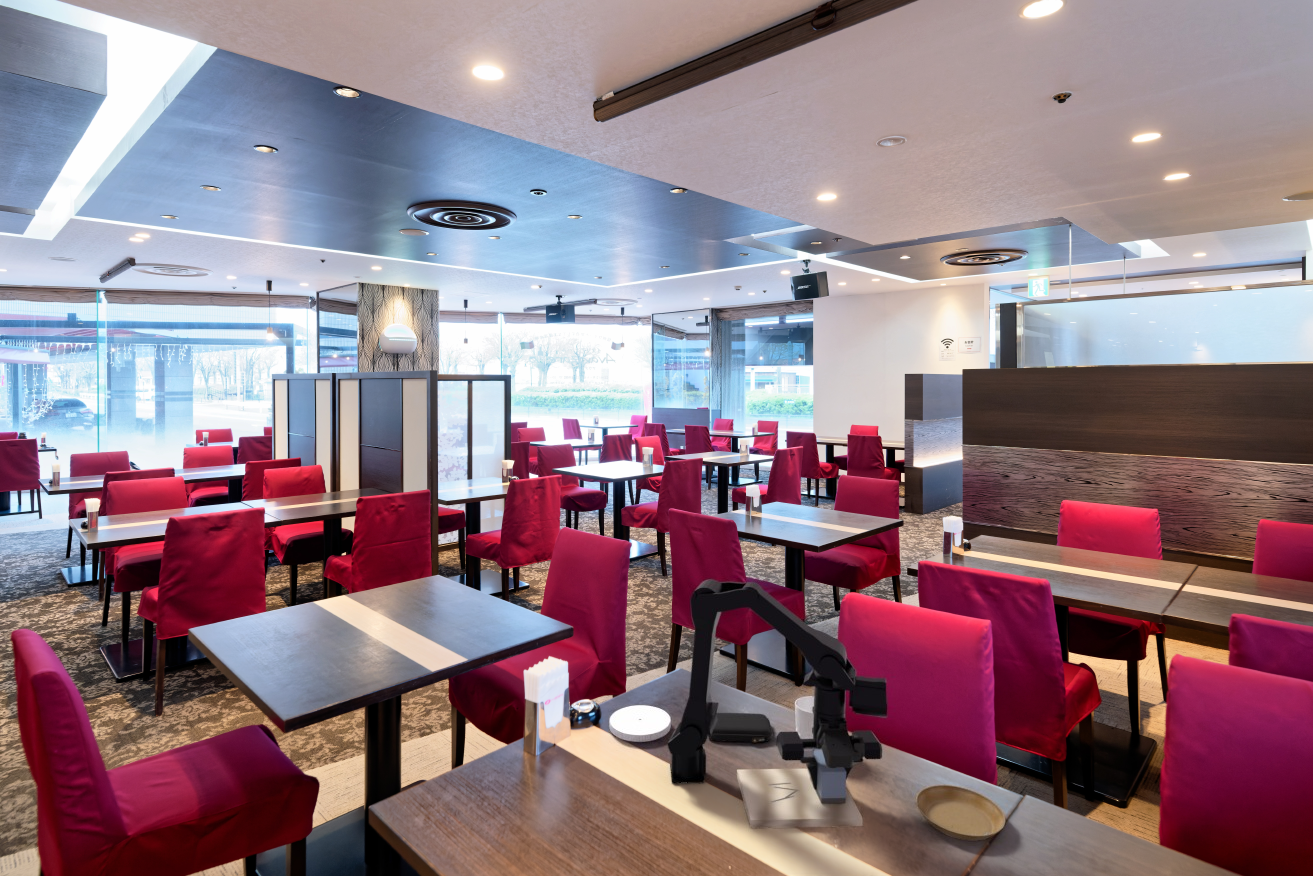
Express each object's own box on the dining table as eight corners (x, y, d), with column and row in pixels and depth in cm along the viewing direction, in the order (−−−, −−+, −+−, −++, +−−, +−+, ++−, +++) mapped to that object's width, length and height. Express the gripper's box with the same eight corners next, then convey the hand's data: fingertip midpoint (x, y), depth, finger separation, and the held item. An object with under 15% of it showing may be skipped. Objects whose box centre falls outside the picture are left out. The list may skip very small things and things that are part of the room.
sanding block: (821, 803, 125) (821, 772, 124) (810, 778, 133) (810, 749, 132) (845, 803, 125) (846, 771, 124) (832, 778, 133) (833, 748, 132)
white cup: (828, 740, 150) (829, 697, 150) (834, 760, 142) (835, 714, 142) (792, 738, 151) (793, 695, 150) (796, 758, 143) (797, 712, 143)
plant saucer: (1001, 861, 112) (1001, 846, 112) (908, 831, 120) (908, 817, 120) (1008, 813, 125) (1008, 800, 125) (923, 789, 133) (923, 776, 132)
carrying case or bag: (706, 746, 149) (773, 748, 148) (706, 732, 148) (774, 734, 148) (705, 722, 159) (768, 724, 158) (705, 709, 159) (768, 711, 158)
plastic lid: (603, 743, 150) (603, 732, 149) (616, 713, 163) (616, 703, 163) (666, 748, 147) (666, 737, 147) (674, 717, 161) (674, 707, 161)
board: (750, 828, 120) (750, 820, 120) (737, 776, 136) (737, 769, 136) (862, 826, 121) (862, 818, 121) (835, 775, 137) (835, 767, 137)
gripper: (789, 730, 119) (788, 816, 120) (894, 729, 120) (892, 814, 121) (776, 701, 130) (775, 779, 131) (872, 700, 131) (870, 778, 132)
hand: (827, 788), depth 129 cm, fingers closed on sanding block, 4 cm apart
